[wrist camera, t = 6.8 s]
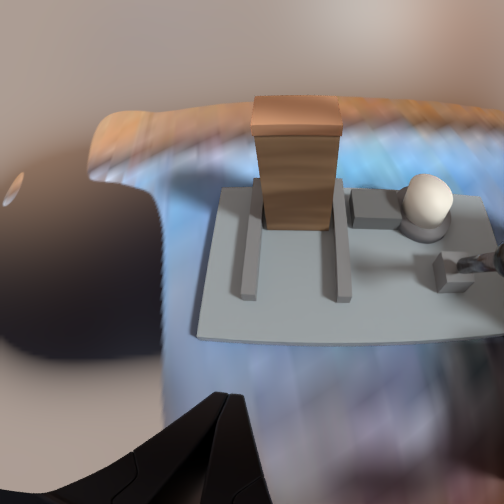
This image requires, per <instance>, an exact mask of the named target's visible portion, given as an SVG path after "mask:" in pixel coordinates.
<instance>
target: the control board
mask: <svg viewBox="0 0 504 504" xmlns="http://www.w3.org/2000/svg"><path fill="white" fill-rule="evenodd" d="M497 247H498V246H497V243H496V240H495V236H494V233H493V230H492V227H491V224H490V221H489V218H488V215H487V213H486V210H485V207H484V204H483V202H482V199H481V197H477V196H467V195H457V194H452V192H451V190H450V188H449V187H448V186H447V185H446V184H445V183H444V182H443V181H442V180H441V179H439V178H437V177H435V176H433V175H429V174H419V175H416V176H414V177H413V178H412V179H411V181H410V183H409V186H407V187H404V188H402V189H401V190H386V189H364V188H343V181H342V179H338V178H335V186H334V194H333V202H332V210H331V217H330V224H329V231H304V230H267V224H266V217H265V210H264V202H263V195H262V188H261V181H260V178H254V179H253V187H222V190H221V195H220V200H219V206H218V211H217V216H216V222H215V227H214V233H213V238H212V244H211V250H210V256H209V261H208V267H207V273H206V279H205V285H204V292H203V298H202V304H201V310H200V317H199V324H198V330H197V338H198V339H199V340H203V341H215V342H228V343H243V344H261V345H286V346H386V345H409V344H427V343H441V342H453V341H464V340H474V339H484V338H492V337H500V336H504V278H503V277H502V276H500V275H499V274H498V272H497V271H495V272H483V273H471V274H461V273H459V272H458V270H457V268H456V264H457V261H458V260H459V259H460V258H464V257H469V256H475V255H480V254H485V253H491V252H495V250H496V248H497Z"/></svg>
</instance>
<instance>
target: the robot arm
mask: <svg viewBox="0 0 504 504" xmlns="http://www.w3.org/2000/svg"><path fill="white" fill-rule="evenodd" d="M0 504H273V503H272V500H271V497H270V494H269V491H268V488H267V484H266V481H265V478H264V474H263V470H262V466H261V462H260V459H259V455H258V451H257V447H256V443H255V439H254V435H253V431H252V427H251V423H250V419H249V415H248V411H247V407H246V403H245V398H244V396H243V395H241V394H228V393H224V392H213V393H212V394H211V395H209V396H208V397H207V398H205V399H204V400H203V401H201V402H200V403H199V404H197V405H196V406H195V407H193V408H192V409H191V410H189V411H188V412H187V413H185V414H184V415H183V416H181V417H180V418H179V419H177V420H176V421H174V422H173V423H172V424H170V425H169V426H168V427H166V428H165V429H163V430H162V431H161V432H159V433H158V434H156V435H155V436H153V437H152V438H150V439H149V440H148V441H146V442H145V443H143V444H142V445H140V446H139V447H137V448H136V449H134V450H133V452H130V453H128V454H127V455H125V456H124V457H122V458H120V459H119V460H117V461H116V462H114V463H112V464H111V465H109V466H107V467H105V468H103V469H101V470H99V471H97V472H96V473H94V474H91V475H89V476H87V477H85V478H83V479H80V480H78V481H76V482H74V483H71V484H69V485H67V486H64V487H62V488H59V489H57V490H54V491H51V492H47V493H24V492H15V491H9V490H2V489H0Z"/></svg>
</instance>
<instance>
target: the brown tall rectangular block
mask: <svg viewBox="0 0 504 504" xmlns="http://www.w3.org/2000/svg"><path fill="white" fill-rule="evenodd" d="M250 126H251V132H252V136H254V139H255V146H256V153H257V160H258V167H259V174H260V181H261V188H262V195H263V202H264V210H265V217H266V224H267V230H304V231H329V224H330V217H331V210H332V202H333V194H334V186H335V178H336V169H337V160H338V150H339V140H340V136H342V130H343V123H342V118H341V113H340V109H339V104H338V99H337V96H315V95H290V96H289V95H285V96H283V95H281V96H256V97H255V99H254V106H253V112H252V118H251V125H250Z"/></svg>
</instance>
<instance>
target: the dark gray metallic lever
mask: <svg viewBox="0 0 504 504" xmlns="http://www.w3.org/2000/svg"><path fill="white" fill-rule="evenodd" d="M456 268H457V270H458V272H459V273H461V274H471V273H483V272H495V271H497V272H498V274H499V275H500V276H502V277H503V278H504V242H502V243H501V244H500V245H499V246H498V247H497V248H496V250H495V252H491V253H485V254H480V255H475V256H469V257H464V258H460V259H459V260H458V261H457V264H456Z"/></svg>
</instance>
